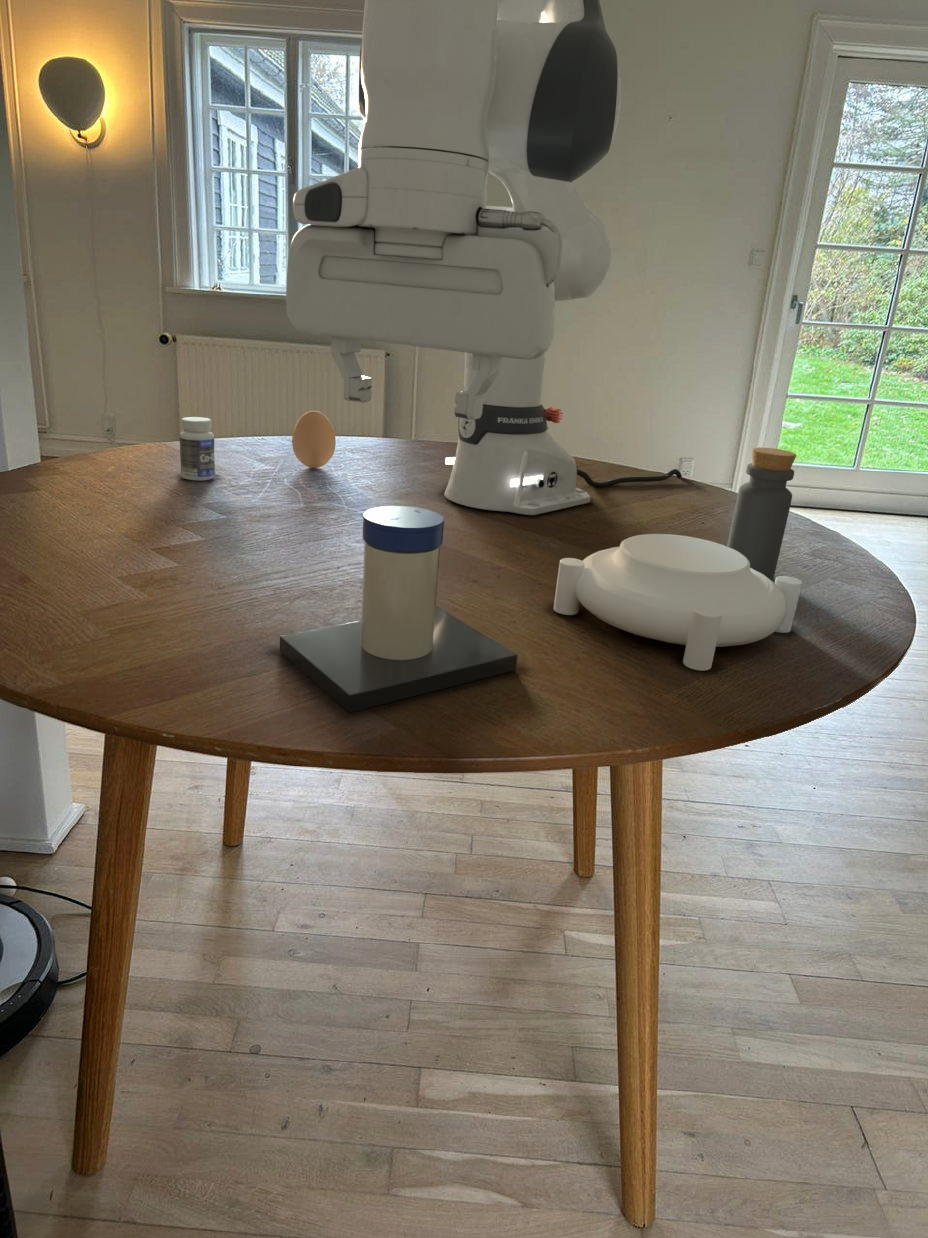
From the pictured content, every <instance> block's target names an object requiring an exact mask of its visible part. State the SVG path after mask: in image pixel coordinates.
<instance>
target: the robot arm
mask: <svg viewBox="0 0 928 1238" xmlns="http://www.w3.org/2000/svg"><path fill="white" fill-rule="evenodd" d="M363 8H364V9H363V18H362V19H363V20H362V31H361V32H362V34H361V45H360V47H359V62H358V63H359V64H358V65H359V68H358V108H359V112H360V116H361V118H362V120H363V122H364V124H363V128H362V132H361V135H360V138H359V142H358V164H357V165H358V167H354V168H352V169H350V170H347V171H345V172H343V173H340V174H338V175H335V176H333V177H330V178H327V179H325V180H322V181H320V182H317V183H314V184H310V185H308V186H305V187H303V188H301V189H299V190H297V191H296V192H295V193H294V195H293V199H292V212H293V213H292V214H293V217H294V219H295V221H296V222H297V223H299V224H301V225H305V226H303V227H301V228H299V229H298V231H296V232H295V234H294V235H293V237H292V239H291V242H290V245H289V250H288V255H287V256H288V257H287V268H286V285H285V286H286V287H285V289H286V290H285V305H286V316H287V318H288V320H289V322H290V323H291V325H292V327H293V329H294V330H295V331H296V332H297V333H302V334H310V335H319V336H327V337H330V353H331V356H332V358H333V360H334V362H335V364H336V366H337V368H338V370H339V372H340V374H341V376H342V377H343V399H344V400H345V401H347V402H354V403H363V404H364V403H368V402H370V401H371V400H372V393H373V392H372V390H371V389H372V387H373V377H370V376H365V375H364V374H363V371H362V369H361V367H360V364H359V361H358V359H357V356H356V353H360V352H361V351H362V341H368V342H376V343H384V344H393V345H400V346H409V347H416V348H425V349H432V350H433V349H434V350H440V351H441V350H442V351H449V352H450V351H451V352H458V353H464V377H463V391H458V392H456V393H455V401H454V404H455V405H456V406H455V408H454V416H455V418H457V431H458V432H457V433H458V438H457V439H458V440H457V445H456V452H455V456H452V457H451V456H449V457H445V465H452V469H451V473H450V476H449V479H448V483H447V485H446V488H445V491H444V493H443V494H444V495H443V496H444V497H445V498H446V499H447V500H449V501H451V502H453V503H456V504H458V505H462V506H465V507H469V508H474V509H479V510H484V511H485V510H487V511H493V512H495V511H496V512H497V511H498V512H507V513H514V514H519V515H525V516H536V515H540V514H546V513H549V512H553V511H558V510H562V509H567V508H571V507H577V506H580V505H585V504H589V503H591V495H590V494H589V493H588V492H587V491H585V490H583V489H581V488H579V487H577V484H578V483H577V482H578V479H577V478H578V476H579V477H581V478H583V479H584V481H585V483H586V484H587V485H588V486H590V487H593V488H597V489H599V488H605V487H611V486H614V485H618V484H625V483H648V482H649V483H651V482H652V483H653V482H662V481H665V480H668V479H670V478H671V477H673V476H674V475H675V477H676V478H679V479H683V476H682V473H681V471H679V469H676V468H673V469H671V470H669V471H668V472H666V473H665V474H662V475H661V474H660V475H649V476H647V475H646V476H645V475H644V476H643V475H641V476H640V475H639V476H623V477H621V476H620V477H617V478H614V479H610V480H606V481H594V480H593V479H592V478H591V477H590V475H589V474H588V473H587V472H585V471H583V470H581V469H579V466H578V465H577V463H576V460H575V458H574V457H573V456H572V454H570V452H568V451H567V450H566V449H565V448H564V447H563V445H561V444H560V443H559V442H558V441H557V439H556V438H554V436H553V435H551V433H550V432H549V431H548V430H549V427H548V422H552V423H554V424H559V423H560V422H561V420H562V419H563V417H564V415H563V412H562V409H561V408H554V407H552V406H549V407H547V408H545V407H544V406H543V404H542V396H543V387H544V377H545V371H546V370H545V369H546V361H547V352H548V351H549V349H550V348H552V345H553V342H554V336H555V335H554V334H555V314H556V309H555V308H556V307H555V305H556V303H555V302H560V301H570V300H577V299H578V300H579V299H584V298H590V297H592V296H593V295H594V294H596V292H597V291H598V290H599V289H600V288H601V286H602V285H603V284H604V282H605V280H606V279H607V277H608V275H609V272H610V270H611V265H612V259H613V247H612V240H611V237H610V234H609V231H608V229H607V228H606V226H605V224H604V223H603V222H602V220H601V219H600V218H599V217H598V216H597V215H595V214H594V213H593V212H592V211H591V210H590V208H589V207H587V205H586V203H584V201H583V200H582V199H581V197H580V194H579V193H578V192H577V190H576V188H575V186H574V183H573V182H575V181H576V180H577V179H579V178H581V177H582V176H584V175H585V174H586V173H587V172H589V171H590V170H591V169H592V168H594V167H595V166H597V165H598V164H599V163H600V162H601V161H602V159H604V158H605V157H607V155H608V154H609V152H610V149H611V145H612V142H613V141H614V137H615V135H616V133H617V132H616V131H617V129H618V124H619V120H620V115H621V114H620V113H621V106H622V79H621V78H622V77H621V71H620V66H619V65H620V64H619V62H618V54H617V49H616V47H615V44H614V42H613V41H612V39H611V37H610V35H609V34H608V32H607V29H606V25H605V21H604V17H603V12H602V7H601V3H600V0H364V7H363ZM489 174H490V175H492V176H494V177H495V178H497V179H498V180H499V181H500V182H501V183H502V185H503V186H504V187H505V189H506V191H507V193H508V195H509V197H510V200H511V204H512V206H501V205H500V206H498V205H487V198H488V197H487V196H488V185H489ZM665 475H669V476H665Z"/></svg>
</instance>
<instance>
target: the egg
mask: <svg viewBox="0 0 928 1238" xmlns="http://www.w3.org/2000/svg"><path fill="white" fill-rule="evenodd" d="M291 435H292V436H291V447H292V450H293V454H294V456H295V457H296V458H297V460H298V461H299V462H300V463H301V464H302V465H303V466H305V467H307V468H309V469H319V468H322V467H324V466H325V465H326V464H327V463H329V462H330V461H331V459H332V458H333V455H334V454H335V450H336V433H335V430H334V428H333V425H332V423H331V421H330V419H329V418H328V417H327V416H326V415H325V414H324V413H322V412H321V411H319V410H309V411H307V412H305V413H304V414H302V415H301V416H300V417H299V419H298V420H297V422H296V423H295V426H294V428H293V430H292V434H291Z"/></svg>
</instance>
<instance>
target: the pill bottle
mask: <svg viewBox="0 0 928 1238" xmlns="http://www.w3.org/2000/svg"><path fill="white" fill-rule="evenodd" d="M181 429H182V430H183V431H181V432H180V433H179V455H180V459H179V460H180V475H181V477H182V479H184V480H189V481H195V482H196V481H199V482H202V481H209V480H213V479H214V478H215V477H216V464H215V463H216V462H215V461H216V460H215V459H216V458H215V436H214V433H213V432H211V430H212V419H210V418H209V417H201V416H188V417H183V418H181Z"/></svg>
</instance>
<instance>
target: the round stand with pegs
mask: <svg viewBox="0 0 928 1238" xmlns="http://www.w3.org/2000/svg"><path fill="white" fill-rule="evenodd" d="M556 578H557V579H556V585H555V586H556V587H555V592H554V593H555V594H554V600H553V601H554V602H553V611H554V612H555V613H558V614H560V615H565V616H574V615H577V614H578V613H579V610H580V604H581V605H582V606H583V607H584V609H586V610H587V611H588V612H589V613H590V614H592V615H594V616H595V617H596V618H597V619H599V620H601V621H602V622H604V623H606V624H608V625H610V626H612V627H615V628H617V629H619V630H621V631H624V632H626V633H631V634H632V635H637V636H639V637H643V638H646V639H650V640H651V639H652V640H655V641H659V642H665V643H670V644H675V645H681V646H685V649H684V653H683V658H682V664H683V665H684V666H685V667H687V668H688V669H690V670H694V671H699V672H700V671H703V672H704V671H709V670H711V669H712V665H713V661H714V657H715V652H716V648H723V647H724V648H725V647H732V646H741V645H742V646H743V645H748V644H752V643H754V642H758V641H761V640H763V639H765V638H767V637H768V636H770V635H772V634H774V632H775V633H780V634H784V633H785V634H786V633H789V632H791V630H792V627H793V623H794V618H795V614H796V610H797V606H798V602H799V599H800V594H801V590H802V586H803V581H802V580H800V579H799V578H797V577H793V576H788V575H778V576H776V577H775V580H774V581H773V582H772V581H771V580H770V579H769V578H767V577H766V576H765V575H763V574H762V573H760V572H758V571H756V570H754V569H752V568H750V562H749V560H748V559H747V558H746V557H745V556H743V555H742V554H741V553H740V552H738V551H736V550H734V549H732V548H729V547H727V545H724V544H721V543H719V542H715V541H711V540H708V539H703V538H700V537H699V538H698V537H694V536H689V535H688V536H687V535H682V534H681V535H680V534H672V533H671V534H670V533H667V534H666V533H646V534H638V535H633V536H629V537H628V538H625V539H623V540H622V541H621V542H620V544H619V546H613V547H610V548H606V549H601V550H598V551H596V552H593V553H592V554H590V555H588V556H586V557H585V558H584V559H578V558H573V557H563V558H561V559H559V562H558V572H557V577H556Z"/></svg>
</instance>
